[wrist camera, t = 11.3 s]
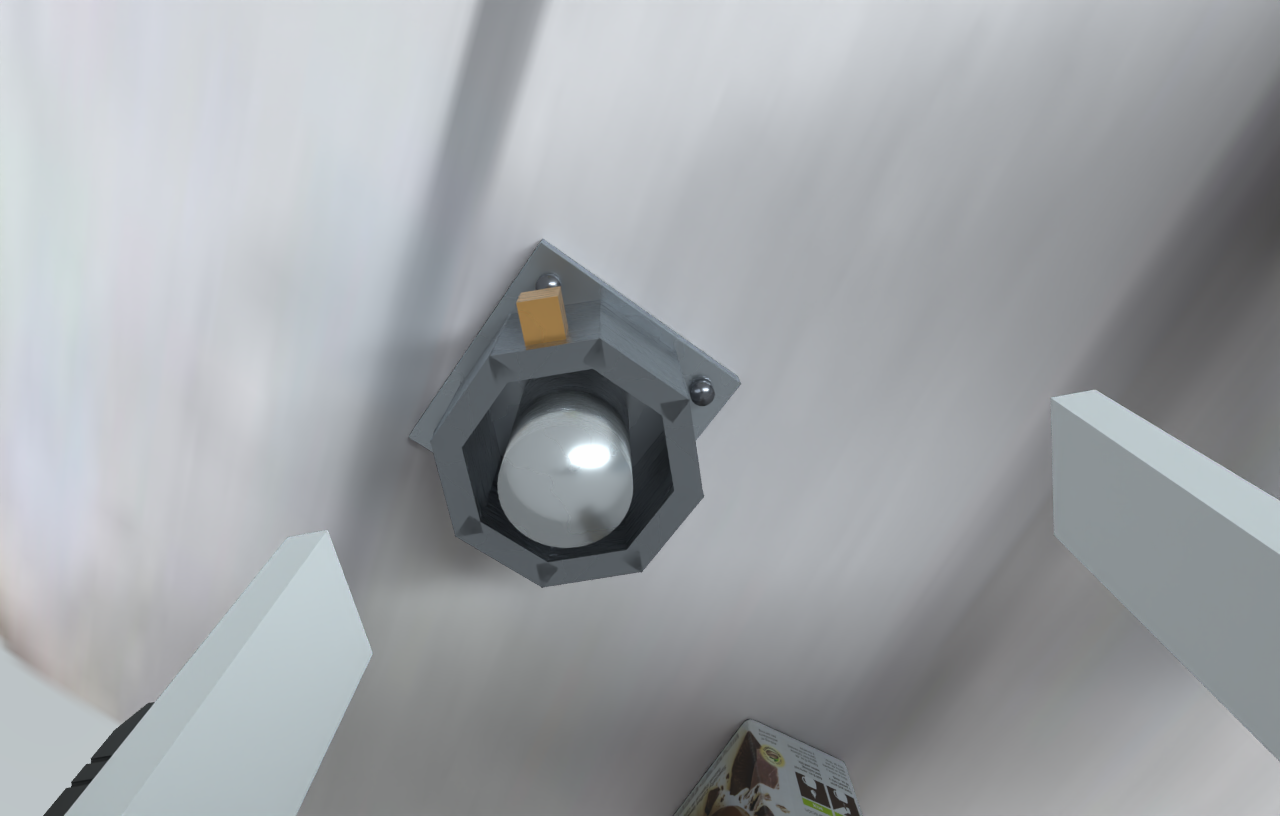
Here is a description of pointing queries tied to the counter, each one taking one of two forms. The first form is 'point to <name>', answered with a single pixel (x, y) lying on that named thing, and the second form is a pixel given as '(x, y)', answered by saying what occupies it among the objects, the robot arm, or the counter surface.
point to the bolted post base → (575, 417)
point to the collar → (554, 346)
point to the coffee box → (772, 779)
